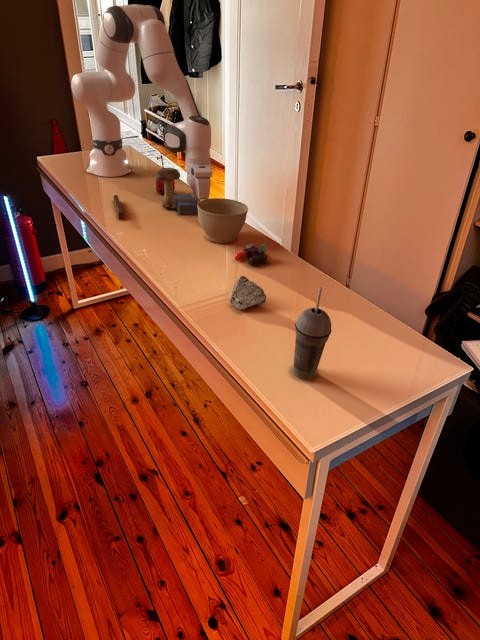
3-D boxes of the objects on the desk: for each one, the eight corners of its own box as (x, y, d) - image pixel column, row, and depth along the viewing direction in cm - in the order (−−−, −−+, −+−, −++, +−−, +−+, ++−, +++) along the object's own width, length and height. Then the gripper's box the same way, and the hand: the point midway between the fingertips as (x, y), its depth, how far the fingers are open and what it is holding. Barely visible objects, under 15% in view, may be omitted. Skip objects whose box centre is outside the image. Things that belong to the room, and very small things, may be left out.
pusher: (172, 203, 181) (172, 194, 179) (190, 202, 183) (190, 193, 181) (179, 214, 171) (179, 205, 169) (198, 214, 173) (198, 204, 171)
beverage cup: (285, 380, 98) (300, 296, 87) (288, 359, 104) (302, 278, 93) (321, 386, 97) (340, 302, 86) (321, 365, 103) (339, 284, 92)
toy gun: (252, 248, 152) (253, 234, 149) (270, 264, 143) (272, 249, 141) (224, 251, 148) (226, 237, 145) (242, 268, 139) (243, 253, 136)
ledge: (113, 201, 177) (113, 195, 175) (117, 201, 177) (117, 195, 176) (118, 219, 162) (118, 212, 161) (123, 219, 163) (123, 212, 162)
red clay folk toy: (161, 196, 186) (161, 157, 178) (152, 191, 190) (151, 152, 182) (177, 194, 190) (178, 155, 182) (168, 189, 194) (168, 151, 186)
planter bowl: (254, 237, 159) (257, 206, 153) (226, 252, 148) (229, 219, 142) (215, 224, 166) (217, 194, 160) (186, 237, 154) (186, 205, 149)
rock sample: (217, 293, 118) (241, 267, 118) (220, 298, 125) (242, 274, 126) (248, 320, 117) (272, 294, 117) (249, 324, 124) (272, 299, 125)
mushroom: (167, 215, 170) (168, 172, 162) (150, 208, 174) (150, 167, 166) (185, 209, 176) (187, 168, 168) (169, 203, 181) (169, 162, 172)
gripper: (182, 158, 177) (182, 194, 185) (196, 174, 161) (195, 213, 169) (199, 158, 179) (198, 194, 187) (214, 173, 163) (212, 212, 171)
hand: (196, 203), depth 177 cm, fingers closed, pressing on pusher
